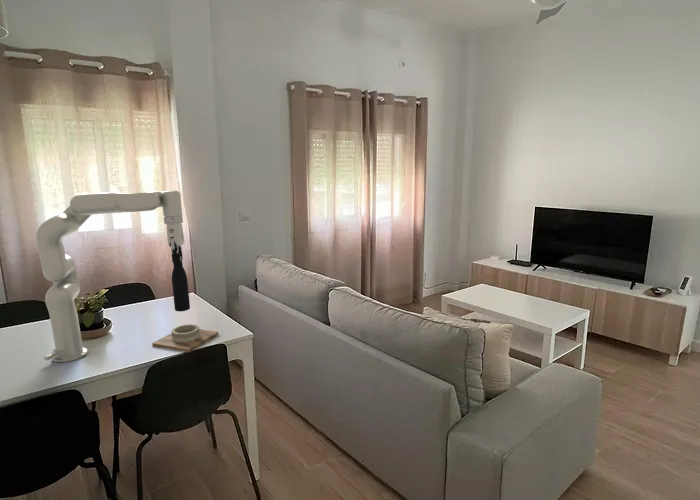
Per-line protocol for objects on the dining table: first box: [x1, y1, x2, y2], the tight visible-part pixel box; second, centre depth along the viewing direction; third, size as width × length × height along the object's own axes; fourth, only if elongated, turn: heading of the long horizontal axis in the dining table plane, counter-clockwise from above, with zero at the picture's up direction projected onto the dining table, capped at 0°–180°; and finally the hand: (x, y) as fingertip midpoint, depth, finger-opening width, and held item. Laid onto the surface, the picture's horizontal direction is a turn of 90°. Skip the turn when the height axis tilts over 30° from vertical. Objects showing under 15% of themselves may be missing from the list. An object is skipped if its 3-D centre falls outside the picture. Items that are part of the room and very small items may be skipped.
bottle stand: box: [152, 323, 219, 353], centre depth 197 cm, size 20×20×6 cm
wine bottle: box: [171, 245, 191, 312], centre depth 191 cm, size 6×6×30 cm
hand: (177, 260), depth 190 cm, fingers closed on wine bottle, 3 cm apart
